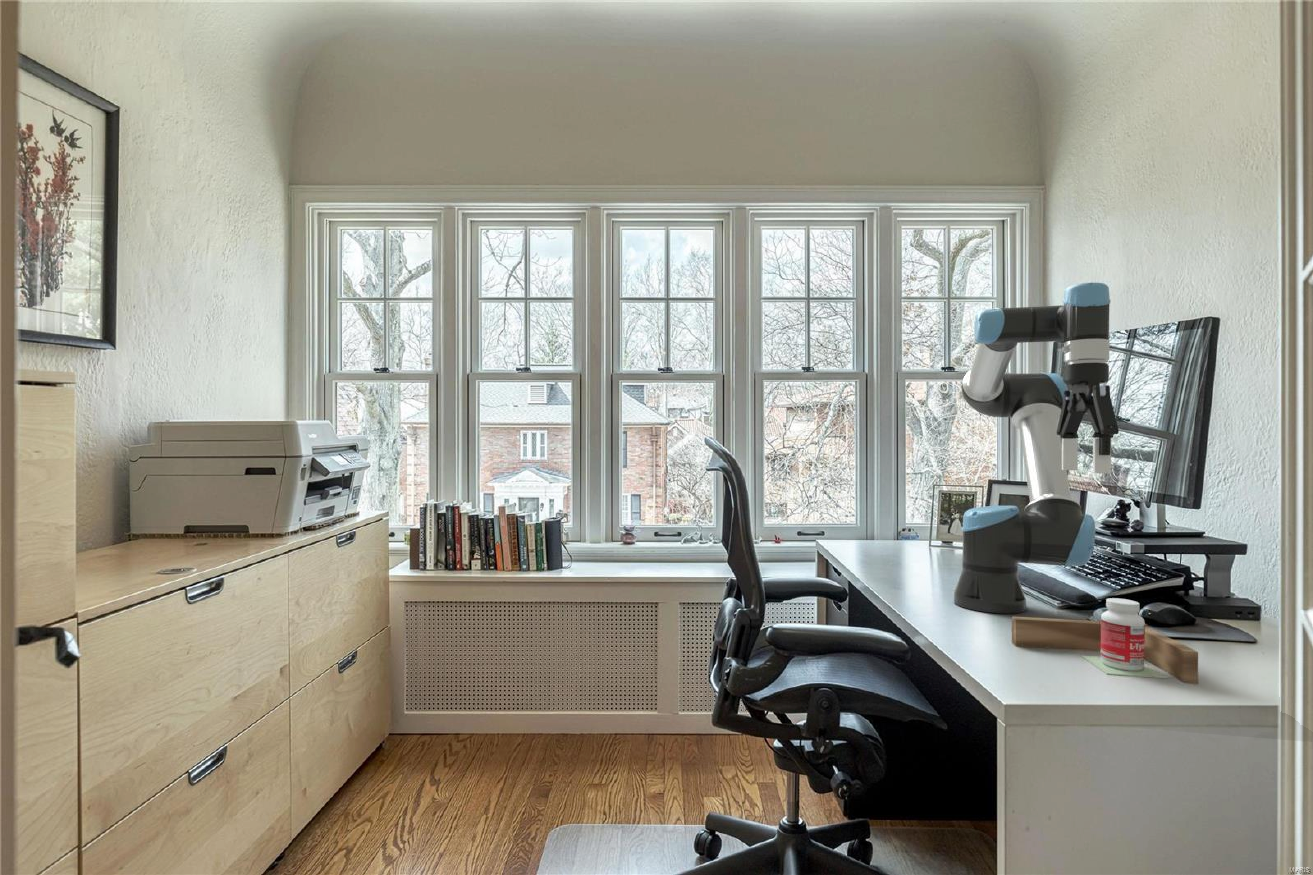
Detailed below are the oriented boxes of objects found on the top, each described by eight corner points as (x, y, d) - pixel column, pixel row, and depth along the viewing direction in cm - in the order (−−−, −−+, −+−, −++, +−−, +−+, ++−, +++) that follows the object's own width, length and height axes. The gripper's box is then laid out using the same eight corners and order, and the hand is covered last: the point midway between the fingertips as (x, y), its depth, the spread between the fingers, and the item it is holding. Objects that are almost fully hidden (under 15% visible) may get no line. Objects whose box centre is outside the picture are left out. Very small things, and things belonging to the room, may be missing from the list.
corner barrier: (1011, 642, 126) (1012, 616, 126) (1139, 650, 123) (1140, 623, 123) (1048, 673, 110) (1048, 643, 110) (1197, 683, 106) (1198, 652, 106)
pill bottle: (1135, 674, 109) (1135, 607, 109) (1093, 663, 114) (1094, 599, 114) (1150, 667, 112) (1151, 602, 112) (1110, 657, 118) (1110, 595, 118)
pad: (1081, 657, 118) (1082, 655, 118) (1137, 660, 117) (1137, 659, 117) (1107, 674, 109) (1107, 673, 109) (1167, 678, 108) (1167, 677, 108)
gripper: (1039, 370, 143) (1038, 468, 143) (1095, 355, 118) (1094, 474, 118) (1077, 370, 142) (1076, 469, 141) (1141, 355, 117) (1140, 475, 117)
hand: (1084, 471), depth 130 cm, fingers open, 13 cm apart
